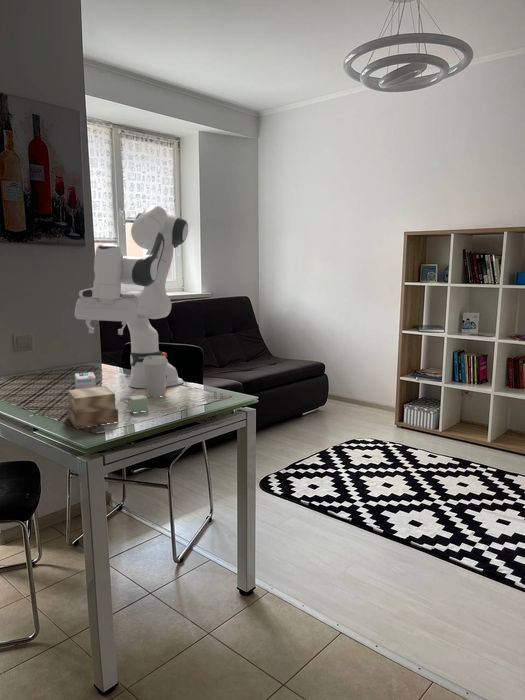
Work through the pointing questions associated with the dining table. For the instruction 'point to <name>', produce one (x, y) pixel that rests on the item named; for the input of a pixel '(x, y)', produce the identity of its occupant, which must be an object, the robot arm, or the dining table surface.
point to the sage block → (138, 403)
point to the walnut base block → (92, 417)
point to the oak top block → (91, 399)
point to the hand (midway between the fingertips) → (105, 333)
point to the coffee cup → (155, 375)
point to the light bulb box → (85, 380)
